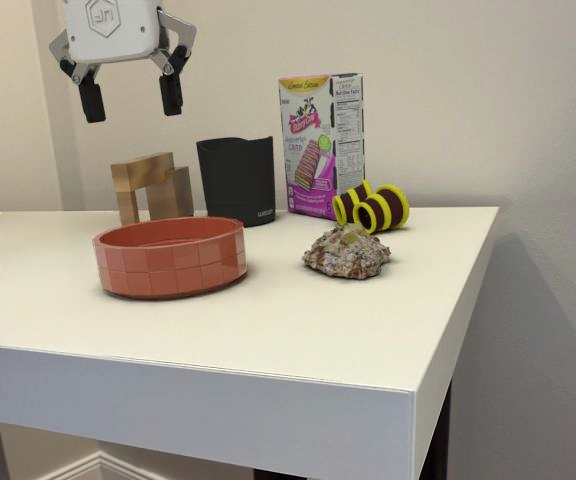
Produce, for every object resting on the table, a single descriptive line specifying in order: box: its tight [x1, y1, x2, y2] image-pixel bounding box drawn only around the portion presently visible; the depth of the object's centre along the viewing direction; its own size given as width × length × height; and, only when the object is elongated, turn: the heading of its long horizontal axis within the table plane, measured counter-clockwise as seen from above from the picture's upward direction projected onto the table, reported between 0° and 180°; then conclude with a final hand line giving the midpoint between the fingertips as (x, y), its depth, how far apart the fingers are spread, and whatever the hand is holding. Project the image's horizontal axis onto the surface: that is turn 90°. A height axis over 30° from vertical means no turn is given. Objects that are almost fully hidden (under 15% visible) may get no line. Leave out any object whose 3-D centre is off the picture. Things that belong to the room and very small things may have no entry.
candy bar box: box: [277, 72, 366, 221], centre depth 82 cm, size 11×5×16 cm, turn 34°
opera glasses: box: [332, 179, 410, 235], centre depth 74 cm, size 10×5×5 cm, turn 22°
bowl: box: [91, 215, 248, 300], centre depth 59 cm, size 13×13×4 cm
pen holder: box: [195, 135, 277, 228], centre depth 82 cm, size 9×9×10 cm
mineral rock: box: [301, 222, 392, 280], centre depth 60 cm, size 11×4×8 cm
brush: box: [109, 151, 195, 226], centre depth 80 cm, size 14×4×9 cm, turn 164°
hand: (134, 118), depth 74 cm, fingers open, 9 cm apart
